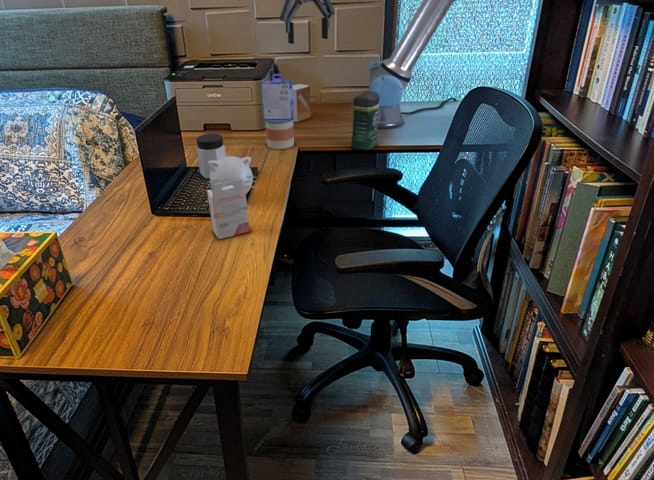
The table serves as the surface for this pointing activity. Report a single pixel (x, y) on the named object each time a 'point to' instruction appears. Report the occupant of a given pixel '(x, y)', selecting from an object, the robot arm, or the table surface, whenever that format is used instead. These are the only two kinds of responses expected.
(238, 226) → the ink cartridge box
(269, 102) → the ink cartridge box
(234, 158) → the cat head
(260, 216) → the table surface
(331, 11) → the robot arm
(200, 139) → the jar
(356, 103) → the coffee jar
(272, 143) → the yogurt tub
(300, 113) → the small box
